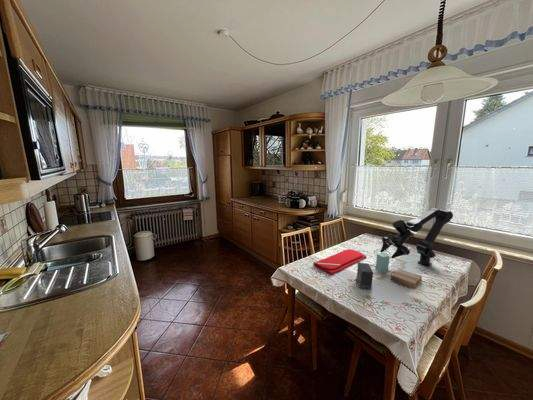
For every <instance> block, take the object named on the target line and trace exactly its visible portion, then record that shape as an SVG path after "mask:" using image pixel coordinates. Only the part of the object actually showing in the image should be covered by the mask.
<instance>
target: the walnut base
mask: <svg viewBox="0 0 533 400" xmlns="http://www.w3.org/2000/svg"><path fill="white" fill-rule="evenodd" d="M422 278H423V276H422V275H419V274H416V273H413V272H410V271H408V270H404V269H401V268H398V269H396V271H394V273H392V274H391V275H390V280H391V281H392V282H396V283H398V284H400V285H403V286H406V287H408V288H411V289H413V290H415V288H417V286H418V285H419V284H420V283H421V282H422V280H423V279H422Z"/></svg>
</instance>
